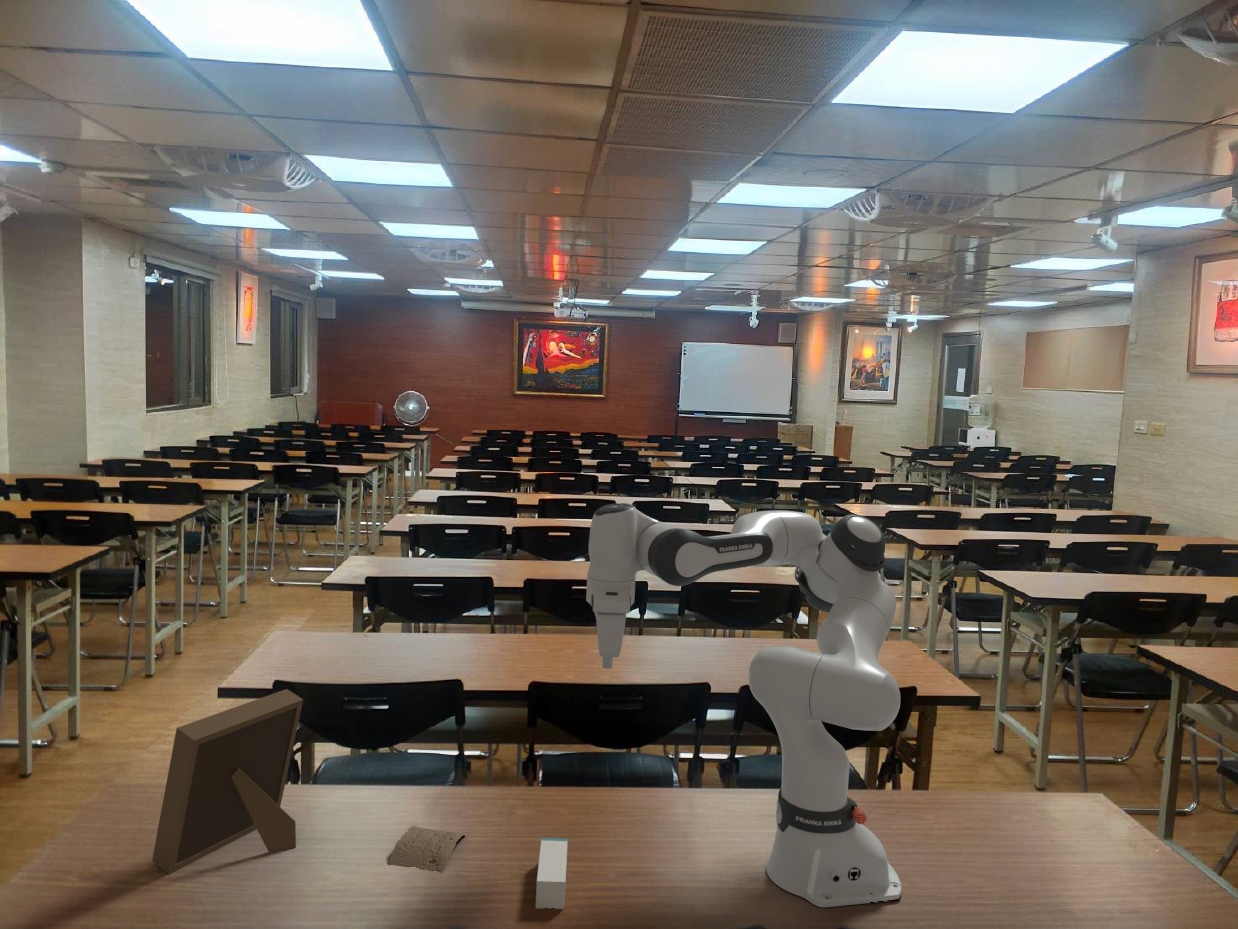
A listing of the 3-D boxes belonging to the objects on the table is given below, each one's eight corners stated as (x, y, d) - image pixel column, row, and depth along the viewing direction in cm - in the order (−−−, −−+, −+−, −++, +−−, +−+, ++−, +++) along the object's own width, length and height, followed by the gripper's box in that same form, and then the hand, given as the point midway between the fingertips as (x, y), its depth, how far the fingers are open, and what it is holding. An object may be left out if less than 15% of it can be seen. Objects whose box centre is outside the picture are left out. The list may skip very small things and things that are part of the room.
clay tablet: (417, 827, 159) (418, 813, 159) (470, 834, 158) (470, 820, 158) (384, 871, 145) (384, 856, 145) (442, 879, 143) (442, 863, 143)
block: (567, 838, 148) (565, 882, 136) (566, 863, 149) (564, 909, 136) (541, 838, 148) (536, 881, 135) (540, 863, 149) (535, 908, 136)
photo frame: (152, 866, 142) (154, 719, 139) (261, 812, 161) (265, 682, 159) (212, 895, 135) (215, 742, 133) (319, 835, 154) (323, 700, 152)
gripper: (593, 579, 168) (589, 648, 169) (593, 605, 147) (589, 684, 148) (625, 580, 168) (621, 650, 169) (630, 606, 147) (626, 685, 149)
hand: (606, 666), depth 158 cm, fingers closed
